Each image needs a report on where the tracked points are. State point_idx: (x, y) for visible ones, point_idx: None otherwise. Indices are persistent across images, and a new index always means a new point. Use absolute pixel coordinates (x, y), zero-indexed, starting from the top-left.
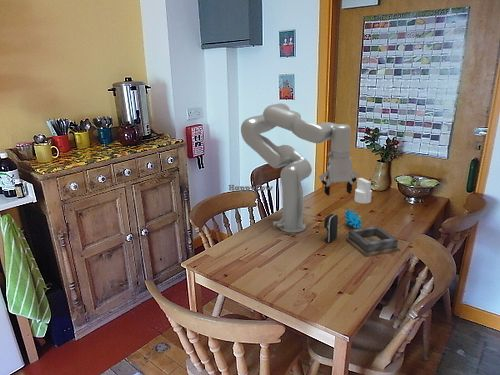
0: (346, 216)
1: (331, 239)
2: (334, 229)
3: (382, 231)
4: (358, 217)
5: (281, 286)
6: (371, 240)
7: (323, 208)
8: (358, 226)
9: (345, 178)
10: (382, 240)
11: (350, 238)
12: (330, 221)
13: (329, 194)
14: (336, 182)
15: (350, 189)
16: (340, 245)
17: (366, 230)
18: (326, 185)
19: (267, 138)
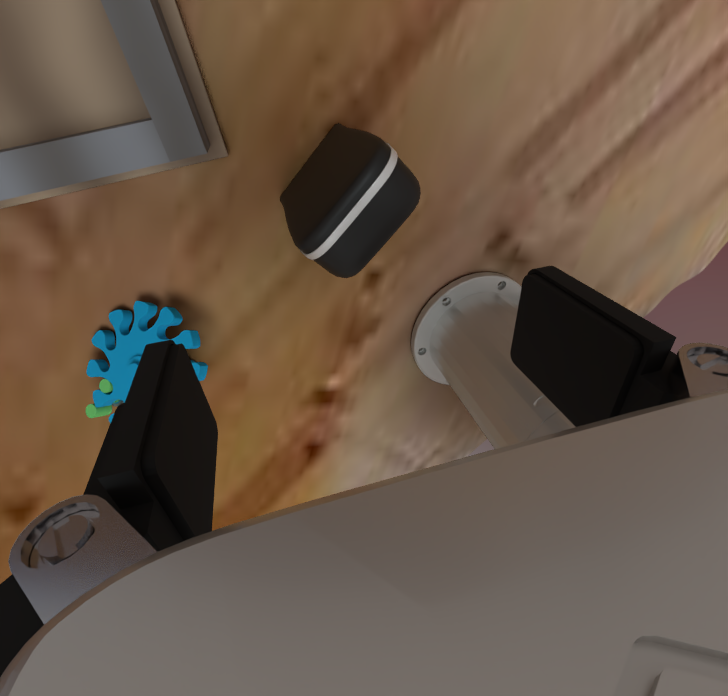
0: (193, 364)
1: (333, 131)
2: (317, 176)
3: None
4: (104, 394)
5: None
6: (10, 63)
7: (278, 505)
8: (114, 320)
9: (388, 642)
10: None
11: (197, 111)
12: (387, 144)
13: (533, 277)
14: (634, 413)
15: (146, 387)
16: (279, 66)
17: (39, 144)
18: (718, 366)
19: None
